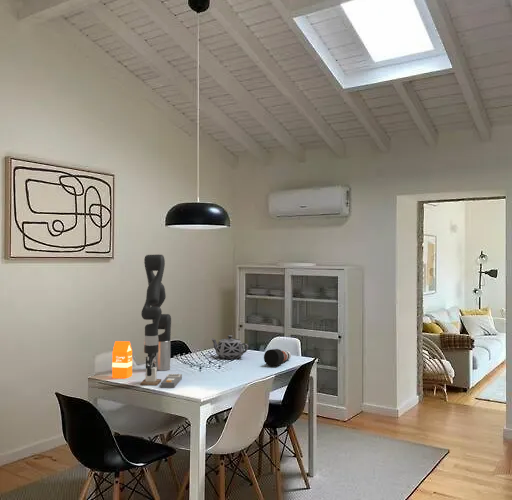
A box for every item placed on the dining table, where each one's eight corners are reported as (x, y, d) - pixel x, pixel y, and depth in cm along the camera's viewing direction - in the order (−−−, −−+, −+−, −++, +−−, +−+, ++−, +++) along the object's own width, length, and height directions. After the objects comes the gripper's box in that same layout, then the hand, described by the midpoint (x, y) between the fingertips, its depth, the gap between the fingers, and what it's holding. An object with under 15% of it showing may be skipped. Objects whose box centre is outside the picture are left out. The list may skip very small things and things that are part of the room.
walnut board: (145, 381, 301) (145, 378, 301) (161, 381, 300) (161, 379, 300) (140, 385, 291) (140, 382, 291) (157, 385, 290) (157, 383, 290)
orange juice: (117, 375, 316) (117, 340, 316) (132, 375, 315) (132, 340, 315) (111, 378, 308) (112, 342, 309) (126, 378, 307) (127, 342, 307)
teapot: (217, 353, 392) (218, 332, 392) (255, 357, 376) (255, 335, 377) (202, 357, 375) (202, 335, 376) (240, 361, 360) (240, 338, 360)
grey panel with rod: (172, 375, 315) (172, 370, 315) (184, 375, 315) (184, 370, 315) (160, 387, 285) (160, 381, 285) (174, 387, 285) (174, 381, 285)
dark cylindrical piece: (292, 365, 372) (298, 352, 371) (273, 368, 341) (281, 354, 340) (279, 357, 376) (286, 344, 375) (261, 360, 345) (268, 346, 344)
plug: (147, 380, 298) (147, 364, 298) (156, 380, 298) (156, 364, 298) (145, 381, 294) (145, 365, 294) (154, 381, 294) (155, 365, 294)
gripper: (147, 341, 303) (147, 371, 303) (141, 345, 289) (140, 376, 289) (161, 342, 303) (160, 371, 303) (155, 345, 289) (155, 377, 288)
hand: (151, 374), depth 296 cm, fingers open, 8 cm apart
